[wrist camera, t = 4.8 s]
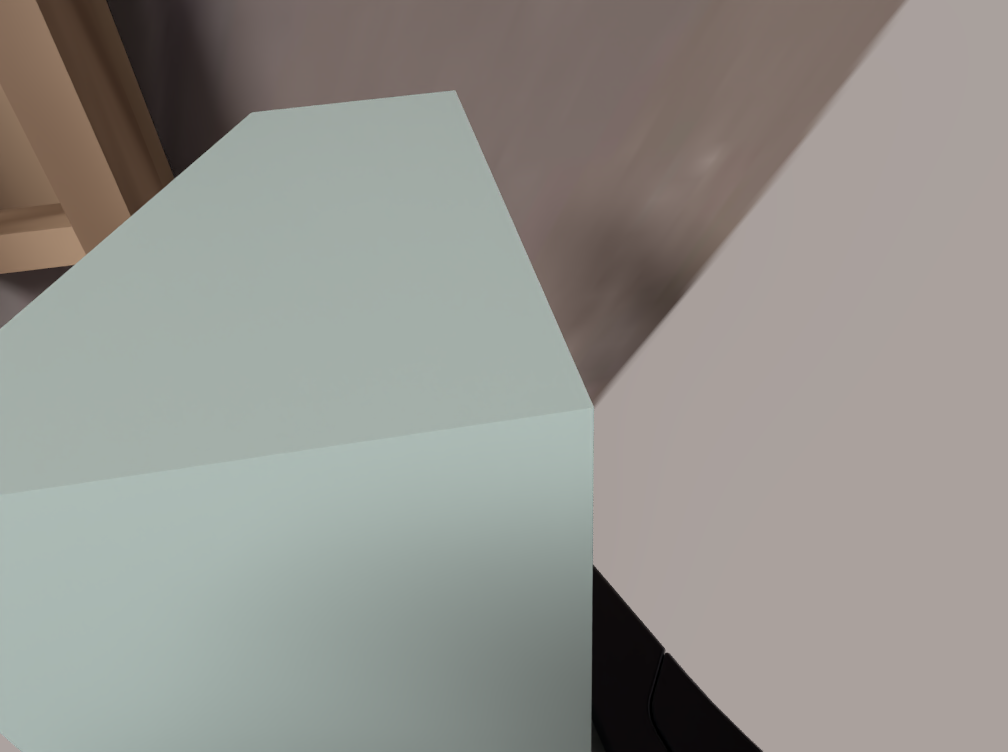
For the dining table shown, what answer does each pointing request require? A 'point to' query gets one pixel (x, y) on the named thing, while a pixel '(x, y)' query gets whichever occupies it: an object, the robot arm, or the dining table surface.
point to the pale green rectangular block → (300, 462)
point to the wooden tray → (69, 133)
